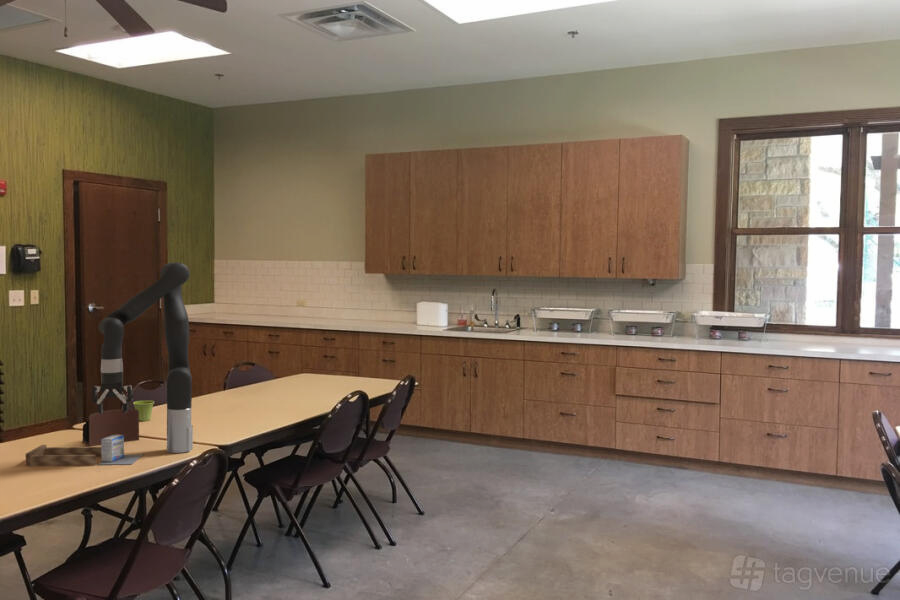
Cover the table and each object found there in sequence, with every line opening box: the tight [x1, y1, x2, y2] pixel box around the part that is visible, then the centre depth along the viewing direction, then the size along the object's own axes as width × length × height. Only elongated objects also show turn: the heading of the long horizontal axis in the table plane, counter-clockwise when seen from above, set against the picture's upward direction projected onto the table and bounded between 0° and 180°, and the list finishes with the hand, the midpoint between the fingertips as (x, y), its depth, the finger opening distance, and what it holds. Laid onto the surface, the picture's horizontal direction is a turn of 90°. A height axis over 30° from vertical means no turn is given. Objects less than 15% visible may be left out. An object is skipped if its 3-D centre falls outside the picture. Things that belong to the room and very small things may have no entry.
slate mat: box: [97, 454, 144, 466], centre depth 279 cm, size 12×14×1 cm
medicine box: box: [100, 435, 125, 462], centre depth 279 cm, size 8×4×9 cm, turn 171°
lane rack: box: [25, 444, 101, 467], centre depth 277 cm, size 24×14×4 cm, turn 97°
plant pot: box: [132, 400, 155, 422], centre depth 352 cm, size 9×9×9 cm
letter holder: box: [81, 408, 140, 447], centre depth 309 cm, size 10×20×14 cm, turn 131°
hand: (112, 413), depth 278 cm, fingers open, 8 cm apart
